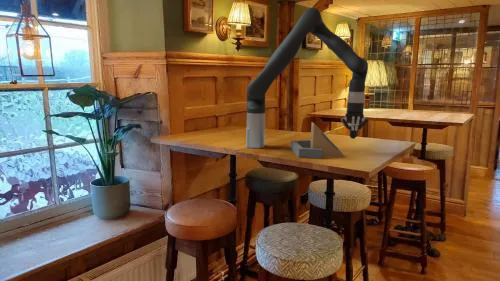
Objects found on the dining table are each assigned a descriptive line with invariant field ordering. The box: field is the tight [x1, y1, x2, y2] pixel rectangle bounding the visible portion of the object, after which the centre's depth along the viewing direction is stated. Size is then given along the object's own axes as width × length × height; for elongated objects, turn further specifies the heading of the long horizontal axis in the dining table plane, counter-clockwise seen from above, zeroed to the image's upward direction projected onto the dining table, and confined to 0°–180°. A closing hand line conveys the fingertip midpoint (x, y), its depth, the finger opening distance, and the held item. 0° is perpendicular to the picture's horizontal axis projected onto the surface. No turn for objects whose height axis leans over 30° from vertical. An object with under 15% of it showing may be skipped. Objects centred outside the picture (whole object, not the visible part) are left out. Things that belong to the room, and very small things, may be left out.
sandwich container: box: [310, 121, 346, 158], centre depth 164 cm, size 9×15×15 cm, turn 87°
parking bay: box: [290, 139, 323, 159], centre depth 169 cm, size 10×24×4 cm, turn 5°
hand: (352, 138), depth 170 cm, fingers closed
